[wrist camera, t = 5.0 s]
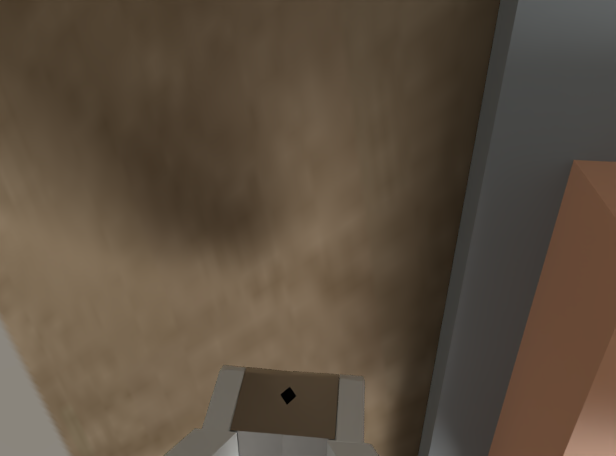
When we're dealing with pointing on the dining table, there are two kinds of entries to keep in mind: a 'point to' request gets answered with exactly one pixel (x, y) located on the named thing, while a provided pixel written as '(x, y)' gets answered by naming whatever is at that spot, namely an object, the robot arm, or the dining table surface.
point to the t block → (569, 333)
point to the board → (517, 201)
